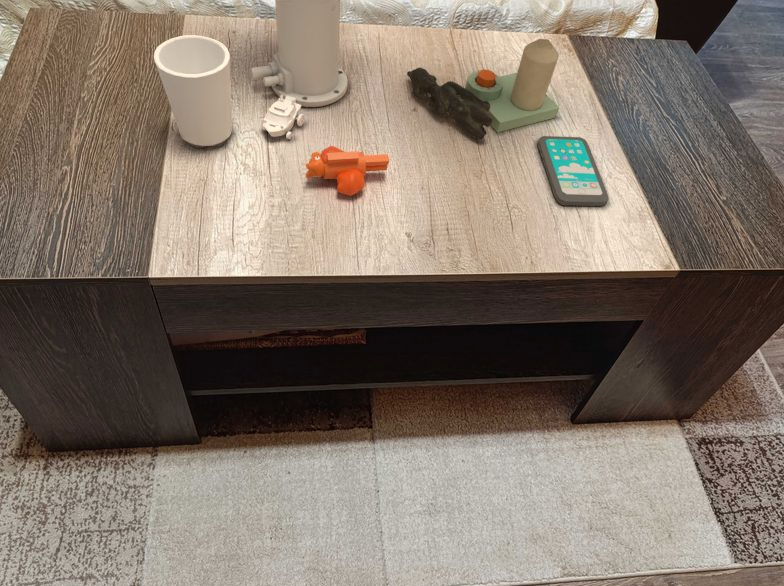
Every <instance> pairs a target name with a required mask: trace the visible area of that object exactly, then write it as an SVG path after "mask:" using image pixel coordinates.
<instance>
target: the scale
mask: <svg viewBox="0 0 784 586" xmlns="http://www.w3.org/2000/svg"><path fill="white" fill-rule="evenodd" d="M479 71H480V70H477V71H472V72H471V73H470V74H469V75H468V76H467V78H466V79H467V80H466V83H465V87H464V88H465V89H467V90H469V91H470V92H472V93H473V94H474V95H475V96H476V97H477V98H478V99H480V100H482V101H488V102H489V103H490V110H489V111H488V112H487V113H488V114H489V116H490V117H491V118H492V122H491V123H492V124H491V125H490V126H491V127H492V128H493V130H495V132H497V133H500V132H504V131H508V130H513V129H516V128H520V127H523V126H529V125H532V124H536V123H540V122H544V121H548V120H551V119H555V118H557V116H558V113H559V110H560V107H559V105H557V104H556V103H555V102H554V100H553V99H552V98H551V97H550V96H548V94H547V93H546V96H545V99H544V102H543V104H542V106H541V107H540V108H539V109H537V110H533V111H528V110H523V109H520V108H518V107H517V106H515V105H514V104H513V103H512V101H511V94H512V90H513V86H514V83H515V79H516V76H517V72H513V73H508V74H504V75H501V76H500V75H498V74H495V75H496V78H495V82H494V86H493V87H491V88H485V87H481V86H479V85H478V84H477V83H476V80H477V76H478V72H479Z"/></svg>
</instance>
